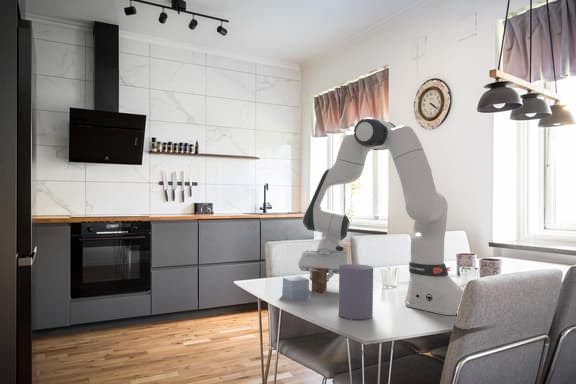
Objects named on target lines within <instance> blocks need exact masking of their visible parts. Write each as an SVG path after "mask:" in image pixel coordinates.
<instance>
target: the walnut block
mask: <svg viewBox="0 0 576 384" xmlns="http://www.w3.org/2000/svg"><path fill="white" fill-rule="evenodd" d="M327 275H328V273H327V270H320V269H315V270H313V271H312V280H311V293H318V294H319V293H320V294H323V293H325V292H327V291H328V289H327V287H328V286H327V284H328V282H325V281H324V278H325V276H327Z"/></svg>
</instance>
